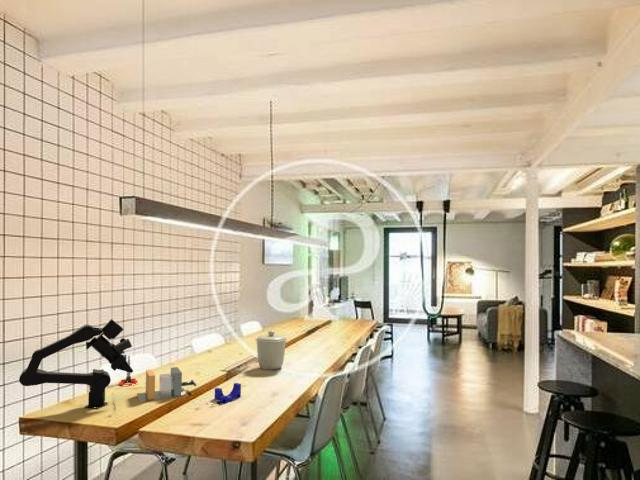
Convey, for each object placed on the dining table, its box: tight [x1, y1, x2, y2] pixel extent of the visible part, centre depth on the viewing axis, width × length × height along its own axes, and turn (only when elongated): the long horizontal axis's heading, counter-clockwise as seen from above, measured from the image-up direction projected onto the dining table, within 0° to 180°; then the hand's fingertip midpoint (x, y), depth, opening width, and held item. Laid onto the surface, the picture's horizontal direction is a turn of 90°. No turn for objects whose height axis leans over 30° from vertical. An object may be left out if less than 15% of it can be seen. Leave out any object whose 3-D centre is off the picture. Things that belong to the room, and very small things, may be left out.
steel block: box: [158, 373, 171, 397], centre depth 196 cm, size 4×7×8 cm, turn 27°
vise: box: [136, 366, 197, 402], centre depth 196 cm, size 24×13×12 cm, turn 117°
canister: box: [255, 330, 288, 371], centre depth 254 cm, size 18×18×21 cm
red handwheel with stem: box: [118, 355, 139, 386], centre depth 218 cm, size 8×13×9 cm
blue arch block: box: [214, 382, 242, 405], centre depth 193 cm, size 12×4×6 cm, turn 141°
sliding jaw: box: [145, 369, 156, 401], centre depth 193 cm, size 2×12×10 cm, turn 27°
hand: (132, 371), depth 190 cm, fingers closed
